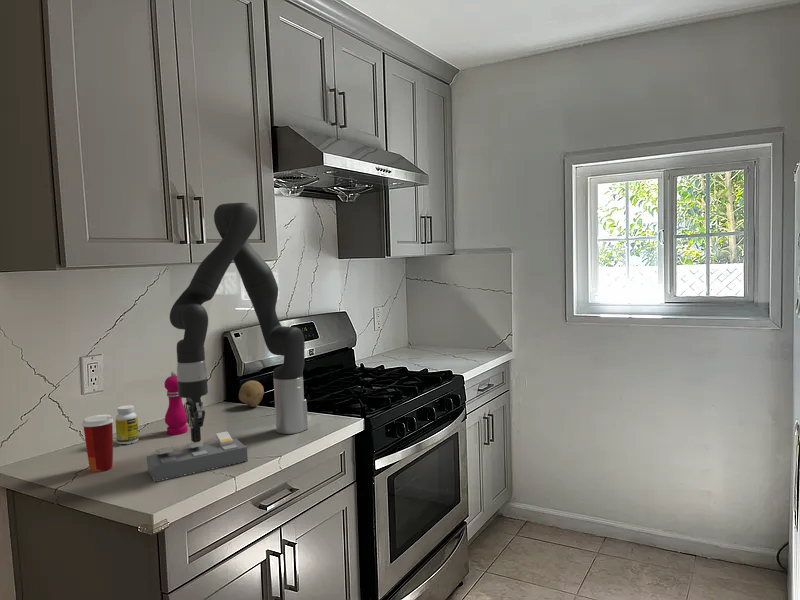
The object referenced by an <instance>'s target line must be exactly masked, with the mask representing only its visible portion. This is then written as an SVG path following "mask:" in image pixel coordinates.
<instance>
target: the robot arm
mask: <svg viewBox="0 0 800 600" xmlns="http://www.w3.org/2000/svg"><path fill="white" fill-rule="evenodd" d="M213 221H214V225H215V228H216V230H217V232H218V234H219V235H220V238H221V241H220V242H219V243H218V245H216V247H215V248H214V249H213V250H212V251H210V253H208V255H206V257H205V258H204V259H203V260H202V262H201V263H200V264H199V265H198V267H197V269H196V271H195V273H194V275H193V276H192V278H191V281H190V282H189V285H188V286H187V287H186V289H185V290H184V291H183V292H182V293H181V294H180V296H178V298H177V299H176V301H175V302H174V303H173V304H172V307H171V309H170V312H169V321H170V324H171V325H172V327H174V328H175V329H178V330H183V331H184V333H183V339H180V340H179V341H177V343H176V362H177V364H176V365H177V366H176V367H177V368H176V373H177V375H176V376H177V381H178V395H179V397H182V399H185V401H186V402H184V404H183V406H184V408H185V413H186V417H187V423H186V424H187V425H188V427H189V429H190V441H191V442H199V441H202V437H201V436H202V435H201V428H202V427H204V421H205V415H206V411H205V410H203V409H204V403H203V401H202V399H201V397H204V396H206V395H207V394H208V392H209V389H208V387H209V386H208V370H207V369H208V368H207V364H206V353H205V342H206V338H207V332H208V328H209V327H208V326H209V315H208V312H207V310H206V308H205V307H204V306H203V304H204V303H206V302H209V301H211V300H212V299H213V298H214V296H215V295H216V292H217V290H218V288H219V286H220V284H221V282H222V280H223V278H224V276H225V274H226V272H227V271H228V269H229V267H230V265H231V264H232V262H233V263H234V265H235V267H236V269H237V272H238V274H239V276H240V279H241V281H242V284H243V286H244V289H245V291H246V294H247V296H248V298H249V299H250V302H251V304H252V307H253V310H254V312H255V315H256V317H257V321H258V323H259V327H260V329H261V333H262V337H263V340H264V343H265V346H266V347H267V350H268V352H270V353H271V354H272V355H275V356H283V363H282V364H281V365H280V366H277V367H275V368H274V369H273V370H272V371H273V373H272V376H273V379H272V380H273V394H274V395H273V396H274V413H275V428H276V429H275V430H276V432H277V433H279V434H285V435H290V434H299V433H301V432H303V431H305V430H308V429H309V427H308V405H307V403H308V401H307V399H306V398H305V396H304V395H305V393H304V391H305V390H304V374H303V372H304V369H305V360H306V359H305V354H306V353H305V352H306V351H305V348H306V347H305V346H306V345H305V337H304V333H303V331H302V330H301V329H300V328H299V327H296V326H283V325H282V324H281V322H280V320H279V318H278V315H277V312H276V308H277V307H276V306H277V302H278V297H279V287H278V284H277V281H276V278H275V276H274V273H273V271H272V269H271V267H270V266H269V264H268V263H267V262H266V261H265V260H264V258H262V257H261V255H260V254H259V253H258V252H257V251H256V250H255V249H254V248H253V247H252V245H251V243H250V242H249V240H248V239H249V238H250V236H251V235H252V234H253V232H254V231H255V229H256V227H257V224H258V212H257V211H256V209H255V207H254V206H253V205H251V203H248V202H233V203H232V202H229V203H222V204H219V205H218V206H217V207H216V208H215V210H214V214H213Z"/></svg>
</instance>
